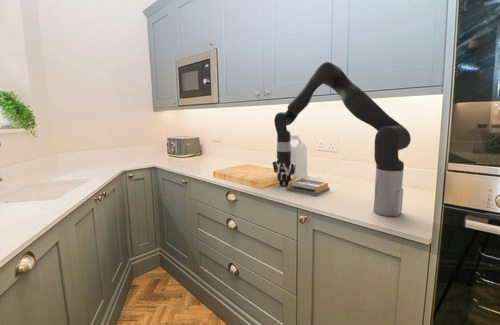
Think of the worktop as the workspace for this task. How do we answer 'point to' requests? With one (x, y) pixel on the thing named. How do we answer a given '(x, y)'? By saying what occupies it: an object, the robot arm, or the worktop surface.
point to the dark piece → (283, 177)
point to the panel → (316, 192)
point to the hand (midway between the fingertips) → (284, 181)
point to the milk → (298, 157)
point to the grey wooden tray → (307, 183)
